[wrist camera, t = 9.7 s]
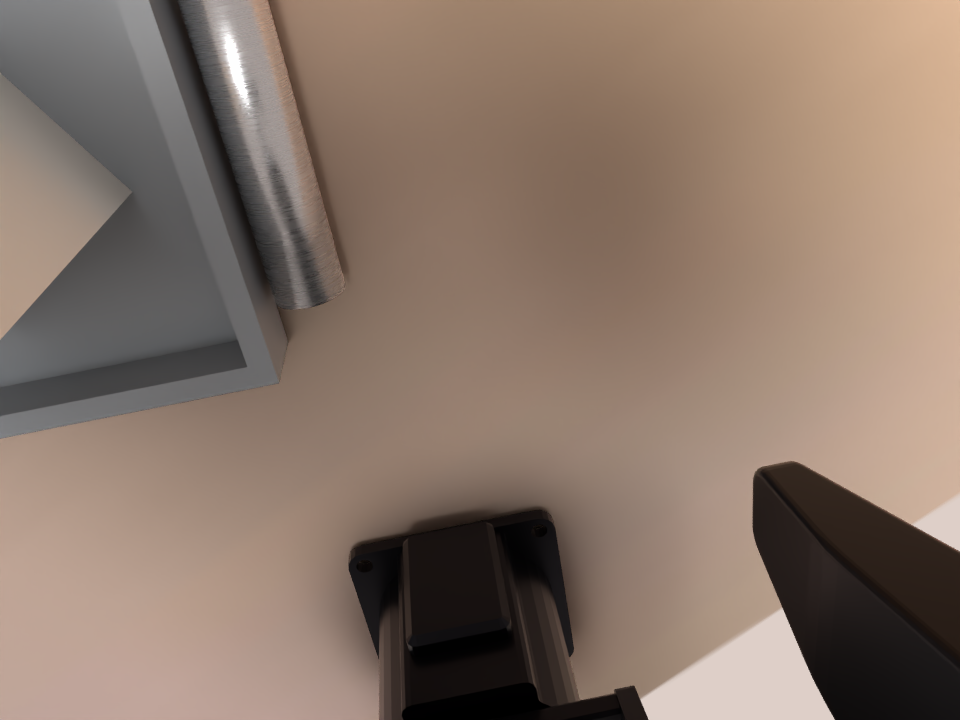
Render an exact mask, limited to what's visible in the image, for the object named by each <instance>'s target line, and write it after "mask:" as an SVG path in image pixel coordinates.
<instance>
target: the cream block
mask: <svg viewBox="0 0 960 720" xmlns="http://www.w3.org/2000/svg"><path fill="white" fill-rule="evenodd" d="M131 193H132V191H131V190H130V189H129V188H128V187H126V186H125V185H124V184H123V183H122V182H121V181H120V180H119V179H118V178H116V177H115V176H114V175H113V174H112V173H111V172H110V171H109V170H108V169H106V168H105V167H104V166H103V165H102V164H101V163H100V162H99V161H98V160H96V159H95V158H94V157H93V156H92V155H91V154H90V153H89V152H88V151H86V150H85V149H84V148H83V147H82V146H81V145H80V144H79V143H78V142H76V141H75V140H74V139H73V138H72V137H71V136H70V135H69V134H68V133H66V132H65V131H64V130H63V129H62V128H61V127H60V126H59V125H58V124H56V123H55V122H54V121H53V120H52V119H51V118H50V117H49V116H48V115H46V114H45V113H44V112H43V111H42V110H41V109H40V108H39V107H38V106H37V105H35V104H34V103H33V102H32V101H31V100H30V99H29V98H28V97H27V96H25V95H24V94H23V93H22V92H21V91H20V90H19V89H18V88H17V87H15V86H14V85H13V84H12V83H11V82H10V81H9V80H8V79H7V78H5V77H4V76H3V75H2V74H1V73H0V340H1V338H2V337H3V336H4V335H5V334H6V333H7V332H8V331H9V329H10V328H11V327H12V326H13V325H14V324H15V323H16V322H17V321H18V319H19V318H20V317H21V316H22V315H23V314H24V313H25V312H26V310H27V309H28V308H29V307H30V306H31V305H32V304H33V303H34V302H35V300H36V299H37V298H38V297H39V296H40V295H41V294H42V293H43V291H44V290H45V289H46V288H47V287H48V286H49V285H50V284H51V282H52V281H53V280H54V279H55V278H56V277H57V276H58V275H59V274H60V272H61V271H62V270H63V269H64V268H65V267H66V266H67V265H68V263H69V262H70V261H71V260H72V259H73V258H74V257H75V256H76V255H77V253H78V252H79V251H80V250H81V249H82V248H83V247H84V246H85V244H86V243H87V242H88V241H89V240H90V239H91V238H92V237H93V235H94V234H95V233H96V232H97V231H98V230H99V229H100V228H101V227H102V225H103V224H104V223H105V222H106V221H107V220H108V219H109V218H110V216H111V215H112V214H113V213H114V212H115V211H116V210H117V209H118V207H119V206H120V205H121V204H122V203H123V202H124V201H125V200H126V199H127V197H128V196H129V195H130V194H131Z"/></svg>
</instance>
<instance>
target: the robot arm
mask: <svg viewBox="0 0 960 720" xmlns="http://www.w3.org/2000/svg"><path fill="white" fill-rule="evenodd" d="M536 525H544V526H543V527H541V528H539V529H533V527H534V526H536ZM753 534H754V538H755V542H756V545H757V548H758V550H759V553H760V555H761V558H762V560H763V562H764V565H765V567H766V569H767V572H768V574H769V577H770V579H771V581H772V584H773V586H774V589H775V591H776V593H777V596H778V598H779V600H780V603H781V605H782V608H783V610H784V612H785V614H786V617H787V619H788V622H789V624H790V627H791V628H792V631H793V633H794V636H795V638H796V641H797V643H798V646H799V648H800V650H801V652H802V655H803V657H804V660H805V662H806V664H807V666H808V669H809V671H810V673H811V675H812V678H813V680H814V682H815V684H816V686H817V687H818V689H819V691H820V693H821V695H822V697H823V699H824V701H825V703H826V704H827V706H828V708H829V710H830V712H831V714H832V715H833V717H834V719H835V720H960V551H958V550H956V549H954V548H952V547H951V546H949V545H947V544H945V543H943V542H941V541H940V540H938V539H936V538H934V537H932V536H931V535H929V534H927V533H925V532H923V531H922V530H920V529H918V528H916V527H914V526H913V525H911V524H909V523H907V522H905V521H904V520H902V519H900V518H898V517H896V516H895V515H893V514H891V513H889V512H887V511H885V510H884V509H882V508H880V507H878V506H876V505H875V504H873V503H871V502H869V501H867V500H866V499H864V498H862V497H860V496H858V495H857V494H855V493H853V492H851V491H849V490H847V489H846V488H844V487H842V486H840V485H838V484H837V483H835V482H833V481H831V480H829V479H828V478H826V477H824V476H822V475H820V474H819V473H817V472H815V471H813V470H811V469H810V468H808V467H806V466H804V465H802V464H800V463H797V462H794V461H788V462H783V463H779V464H774V465H769V466H764V467H761V468H759V469H758V470H757V471H756V472H755V474H754V478H753ZM362 560H368V561H370V562H369V563H361V562H360V561H362ZM349 572H350V575H351V578H352V581H353V583H354V586H355V589H356V592H357V595H358V598H359V601H360V604H361V607H362V610H363V613H364V616H365V619H366V622H367V625H368V628H369V631H370V634H371V637H372V640H373V643H374V646H375V649H376V652H377V655H378V658H379V720H648V717H647V715H646V713H645V711H644V708H643V706H642V703H641V701H640V698H639V696H638V693H637V691H636V689H635V686H629V687H624V688H619V689H615V690H614V694H609V695H604V696H599V697H594V698H590V699H585V700H580V698H579V695H578V691H577V687H576V683H575V679H574V675H573V671H572V667H571V663H570V659H569V657H570V656H571V655H572V654H573V651H574V646H573V640H572V633H571V627H570V620H569V614H568V608H567V601H566V595H565V588H564V582H563V576H562V569H561V563H560V556H559V550H558V544H557V537H556V531H555V526H554V522H553V519H552V517H551V515H550V514H549V513H548V512H546V511H542V510H535V511H530V512H525V513H520V514H515V515H510V516H505V517H500V518H495V519H490V520H485V521H480V522H475V523H470V524H465V525H460V526H455V527H450V528H445V529H440V530H436V531H431V532H426V533H421V534H416V535H411V536H406V537H401V538H396V539H391V540H386V541H381V542H376V543H371V544H366V545H361V546H358V547H356V548H354V549H353V550H352V551H351V553H350V555H349Z"/></svg>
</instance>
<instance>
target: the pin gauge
mask: <svg viewBox="0 0 960 720" xmlns="http://www.w3.org/2000/svg"><path fill="white" fill-rule="evenodd" d="M177 1H178V4H179V7H180V11H181V14H182V17H183V20H184V23H185V26H186V29H187V32H188V35H189V38H190V41H191V44H192V48H193V51H194V54H195V57H196V60H197V63H198V66H199V69H200V72H201V75H202V78H203V81H204V85H205V88H206V91H207V94H208V97H209V100H210V103H211V106H212V109H213V112H214V115H215V118H216V122H217V125H218V128H219V131H220V134H221V137H222V140H223V143H224V146H225V149H226V152H227V155H228V159H229V162H230V165H231V168H232V171H233V174H234V177H235V180H236V183H237V186H238V189H239V192H240V195H241V199H242V202H243V205H244V208H245V211H246V214H247V217H248V220H249V223H250V226H251V229H252V232H253V236H254V239H255V242H256V245H257V248H258V251H259V254H260V257H261V260H262V263H263V266H264V269H265V273H266V276H267V279H268V282H269V285H270V288H271V291H272V294H273V297H274V300H275V303H276V305H277V306H278V307H280V308H283V309H304V308H310V307H314V306H317V305H320V304H323V303H325V302H328V301H330V300H332V299H334V298H335V297H337V296H338V295H339V294H341V293H342V292H343V290H344V289H345V281H344V277H343V274H342V270H341V266H340V263H339V259H338V255H337V252H336V248H335V244H334V241H333V237H332V233H331V230H330V226H329V222H328V219H327V215H326V211H325V208H324V204H323V200H322V197H321V193H320V189H319V186H318V182H317V178H316V175H315V171H314V167H313V164H312V160H311V156H310V153H309V149H308V145H307V142H306V138H305V134H304V131H303V127H302V123H301V120H300V116H299V112H298V109H297V105H296V101H295V98H294V94H293V90H292V87H291V83H290V79H289V76H288V72H287V68H286V65H285V61H284V57H283V54H282V50H281V46H280V43H279V39H278V35H277V32H276V28H275V24H274V21H273V17H272V13H271V10H270V6H269V2H268V0H177Z"/></svg>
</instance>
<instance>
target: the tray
mask: <svg viewBox="0 0 960 720" xmlns="http://www.w3.org/2000/svg"><path fill="white" fill-rule="evenodd" d="M0 73H1V74H2V75H3V76H4V77H5V78H7V79H8V80H9V81H10V82H11V83H12V84H13V85H14V86H15V87H17V88H18V89H19V90H20V91H21V92H22V93H23V94H24V95H25V96H27V97H28V98H29V99H30V100H31V101H32V102H33V103H34V104H35V105H37V106H38V107H39V108H40V109H41V110H42V111H43V112H44V113H45V114H46V115H48V116H49V117H50V118H51V119H52V120H53V121H54V122H55V123H56V124H58V125H59V126H60V127H61V128H62V129H63V130H64V131H65V132H66V133H68V134H69V135H70V136H71V137H72V138H73V139H74V140H75V141H76V142H78V143H79V144H80V145H81V146H82V147H83V148H84V149H85V150H86V151H88V152H89V153H90V154H91V155H92V156H93V157H94V158H95V159H96V160H98V161H99V162H100V163H101V164H102V165H103V166H104V167H105V168H106V169H108V170H109V171H110V172H111V173H112V174H113V175H114V176H115V177H116V178H118V179H119V180H120V181H121V182H122V183H123V184H124V185H125V186H126V187H128V188H129V189H130V190H131V191H132V193H131V194H130V195H129V196H128V197H127V199H126V200H125V201H124V202H123V203H122V204H121V205H120V206H119V207H118V209H117V210H116V211H115V212H114V213H113V214H112V215H111V216H110V218H109V219H108V220H107V221H106V222H105V223H104V224H103V225H102V227H101V228H100V229H99V230H98V231H97V232H96V233H95V234H94V235H93V237H92V238H91V239H90V240H89V241H88V242H87V243H86V244H85V246H84V247H83V248H82V249H81V250H80V251H79V252H78V253H77V255H76V256H75V257H74V258H73V259H72V260H71V261H70V262H69V263H68V265H67V266H66V267H65V268H64V269H63V270H62V271H61V272H60V274H59V275H58V276H57V277H56V278H55V279H54V280H53V281H52V282H51V284H50V285H49V286H48V287H47V288H46V289H45V290H44V291H43V293H42V294H41V295H40V296H39V297H38V298H37V299H36V300H35V302H34V303H33V304H32V305H31V306H30V307H29V308H28V309H27V310H26V312H25V313H24V314H23V315H22V316H21V317H20V318H19V319H18V321H17V322H16V323H15V324H14V325H13V326H12V327H11V328H10V329H9V331H8V332H7V333H6V334H5V335H4V336H3V337H2V338H1V340H0V439H1V438H6V437H11V436H16V435H21V434H26V433H31V432H36V431H41V430H46V429H51V428H56V427H61V426H66V425H71V424H77V423H82V422H87V421H92V420H97V419H102V418H107V417H112V416H117V415H122V414H127V413H132V412H137V411H142V410H147V409H152V408H157V407H162V406H167V405H172V404H177V403H182V402H187V401H192V400H197V399H202V398H207V397H213V396H218V395H223V394H228V393H233V392H238V391H243V390H248V389H253V388H258V387H263V386H268V385H273V384H278V383H279V382H280V377H281V373H282V368H283V364H284V359H285V354H286V350H287V345H288V339H287V336H286V333H285V330H284V327H283V324H282V321H281V318H280V315H279V312H278V309H277V305H276V303H275V300H274V297H273V294H272V291H271V288H270V285H269V282H268V279H267V276H266V273H265V269H264V266H263V263H262V260H261V257H260V254H259V251H258V248H257V245H256V242H255V239H254V236H253V232H252V229H251V226H250V223H249V220H248V217H247V214H246V211H245V208H244V205H243V202H242V199H241V195H240V192H239V189H238V186H237V183H236V180H235V177H234V174H233V171H232V168H231V165H230V162H229V159H228V155H227V152H226V149H225V146H224V143H223V140H222V137H221V134H220V131H219V128H218V125H217V122H216V118H215V115H214V112H213V109H212V106H211V103H210V100H209V97H208V94H207V91H206V88H205V85H204V81H203V78H202V75H201V72H200V69H199V66H198V63H197V60H196V57H195V54H194V51H193V48H192V44H191V41H190V38H189V35H188V32H187V29H186V26H185V23H184V20H183V17H182V14H181V11H180V7H179V4H178V1H177V0H0Z"/></svg>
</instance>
